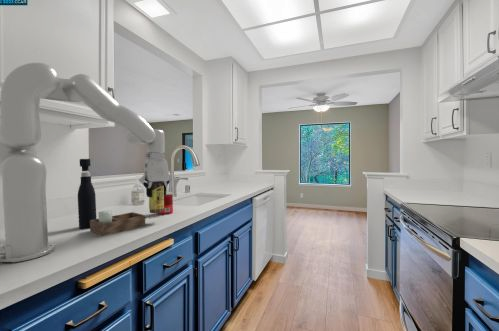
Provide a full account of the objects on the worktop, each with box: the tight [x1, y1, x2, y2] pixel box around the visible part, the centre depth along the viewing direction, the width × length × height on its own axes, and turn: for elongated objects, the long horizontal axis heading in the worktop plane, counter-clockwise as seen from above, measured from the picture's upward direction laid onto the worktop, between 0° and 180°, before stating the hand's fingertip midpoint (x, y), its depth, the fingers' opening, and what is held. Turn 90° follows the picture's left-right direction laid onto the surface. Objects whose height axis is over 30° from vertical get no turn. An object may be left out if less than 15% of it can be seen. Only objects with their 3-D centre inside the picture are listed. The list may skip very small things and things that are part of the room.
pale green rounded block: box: [98, 210, 113, 224], centre depth 95 cm, size 5×5×7 cm
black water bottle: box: [77, 158, 97, 230], centre depth 101 cm, size 6×6×30 cm
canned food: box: [157, 191, 174, 216], centre depth 125 cm, size 8×8×11 cm
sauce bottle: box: [148, 181, 164, 214], centre depth 106 cm, size 7×6×20 cm
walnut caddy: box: [89, 211, 146, 237], centre depth 99 cm, size 17×12×4 cm, turn 142°
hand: (156, 195), depth 106 cm, fingers closed on sauce bottle, 6 cm apart
